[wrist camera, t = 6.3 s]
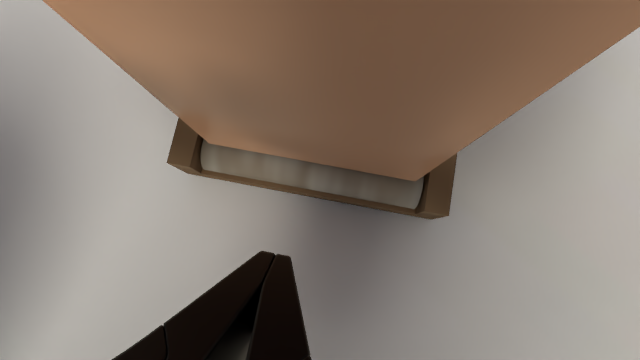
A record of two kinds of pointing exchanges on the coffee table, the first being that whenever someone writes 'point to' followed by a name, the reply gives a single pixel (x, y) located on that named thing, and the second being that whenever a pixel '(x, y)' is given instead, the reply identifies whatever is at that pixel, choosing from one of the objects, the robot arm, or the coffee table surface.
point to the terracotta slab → (350, 68)
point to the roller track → (314, 177)
